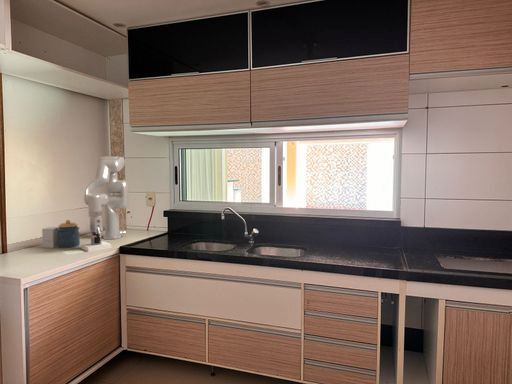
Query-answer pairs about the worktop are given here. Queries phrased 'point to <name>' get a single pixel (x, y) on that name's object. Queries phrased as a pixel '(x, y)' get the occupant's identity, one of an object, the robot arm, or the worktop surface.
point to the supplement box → (50, 237)
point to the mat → (72, 252)
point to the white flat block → (95, 246)
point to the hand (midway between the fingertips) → (96, 242)
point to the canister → (68, 235)
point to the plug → (94, 240)
